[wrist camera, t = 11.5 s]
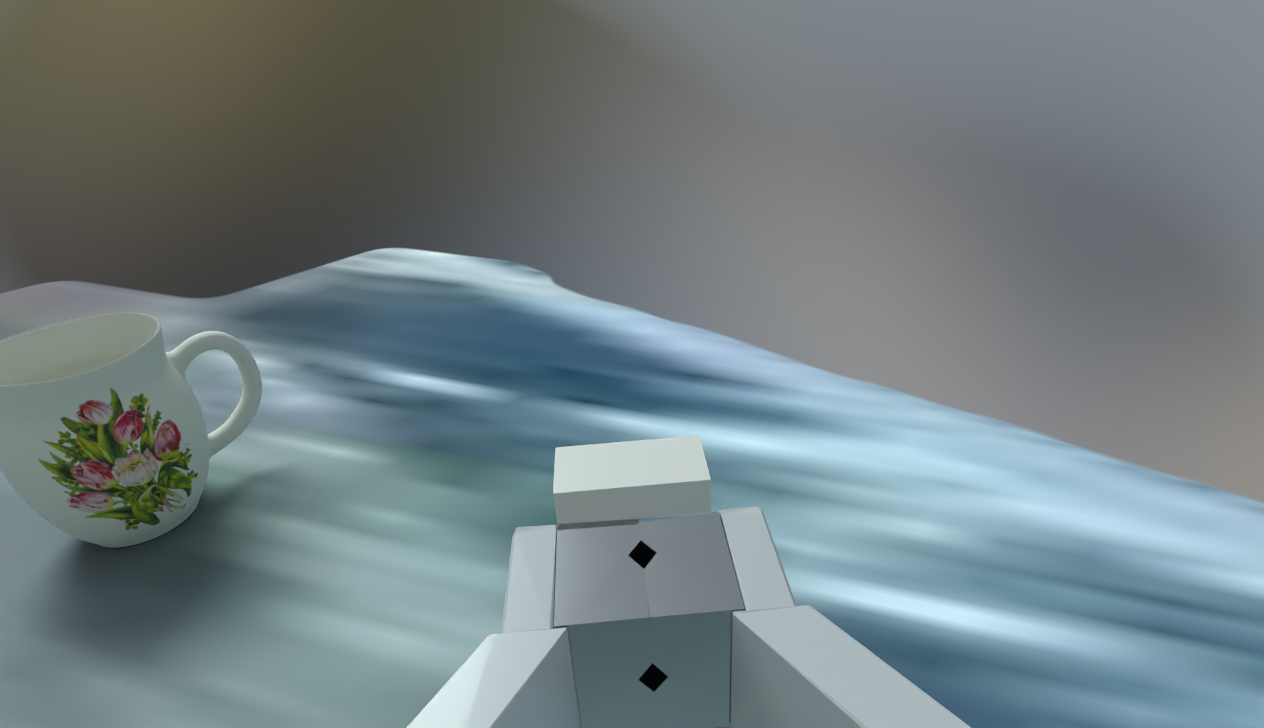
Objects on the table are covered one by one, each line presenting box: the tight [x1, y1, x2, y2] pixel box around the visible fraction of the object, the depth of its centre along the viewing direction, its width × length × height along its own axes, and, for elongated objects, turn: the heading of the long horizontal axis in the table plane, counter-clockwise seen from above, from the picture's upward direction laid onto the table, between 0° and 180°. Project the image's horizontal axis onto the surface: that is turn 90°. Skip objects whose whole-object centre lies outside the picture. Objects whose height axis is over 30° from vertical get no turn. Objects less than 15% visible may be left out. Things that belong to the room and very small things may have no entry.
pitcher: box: [0, 313, 262, 548], centre depth 47 cm, size 11×18×14 cm, turn 139°
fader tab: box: [553, 435, 711, 524], centre depth 31 cm, size 4×6×12 cm, turn 93°
